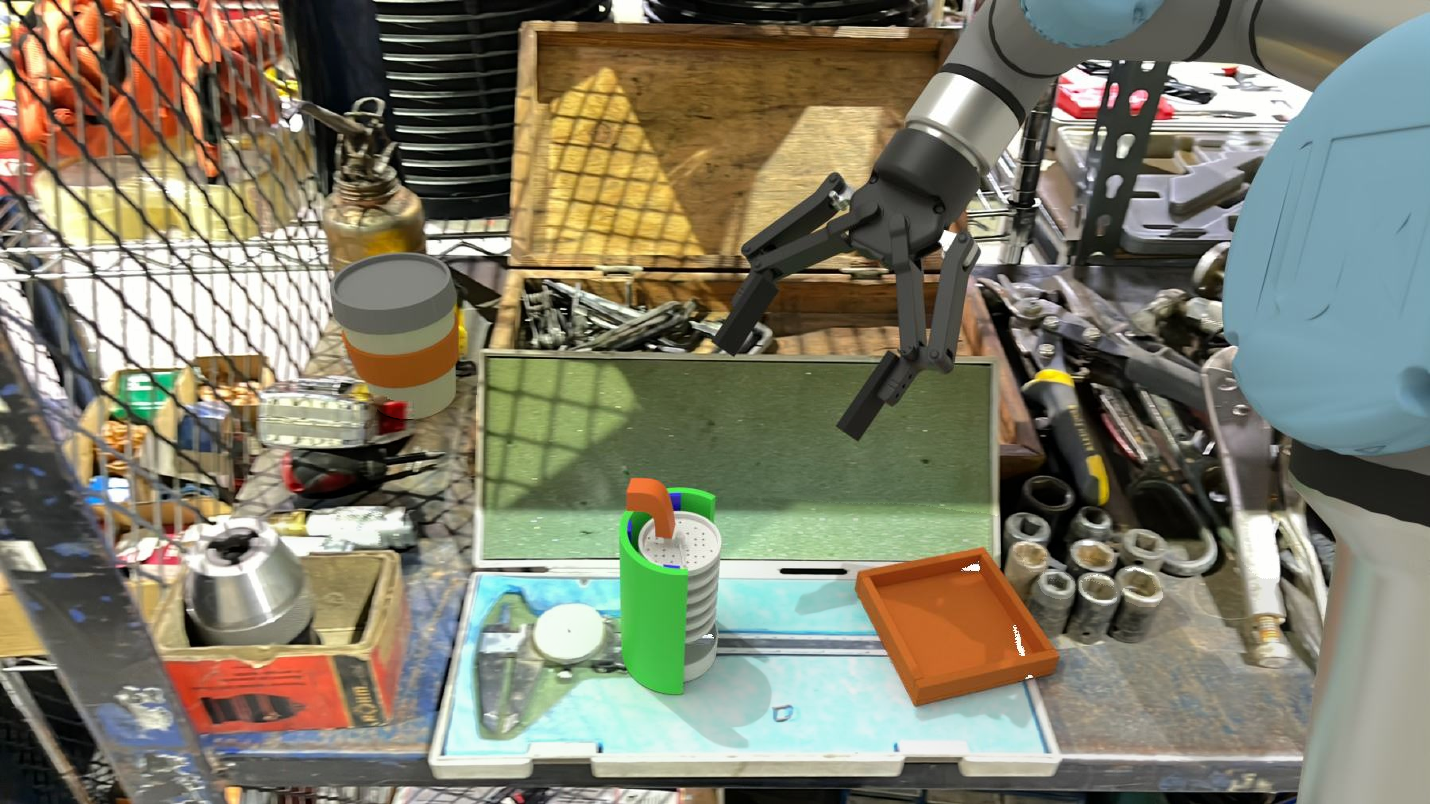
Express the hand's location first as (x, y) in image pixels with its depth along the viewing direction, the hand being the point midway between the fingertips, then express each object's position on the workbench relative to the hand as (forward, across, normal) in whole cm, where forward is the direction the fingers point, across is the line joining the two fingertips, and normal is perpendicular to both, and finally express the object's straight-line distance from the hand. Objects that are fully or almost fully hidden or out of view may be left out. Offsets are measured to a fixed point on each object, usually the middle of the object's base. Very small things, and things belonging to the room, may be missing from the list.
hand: (780, 389), depth 69 cm
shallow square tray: (+9, -14, -22) cm, 28 cm away
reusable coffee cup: (+24, +46, -8) cm, 52 cm away
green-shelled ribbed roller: (+23, 0, -8) cm, 25 cm away
